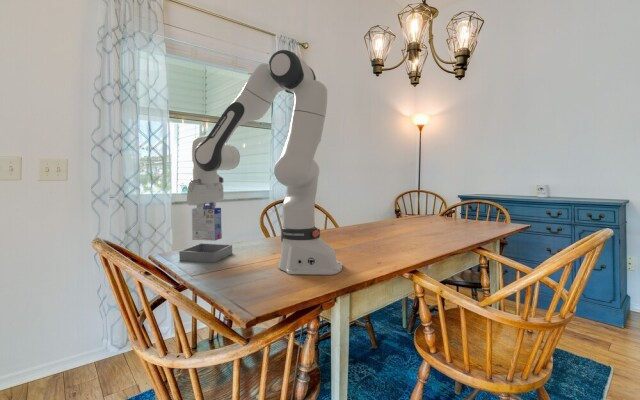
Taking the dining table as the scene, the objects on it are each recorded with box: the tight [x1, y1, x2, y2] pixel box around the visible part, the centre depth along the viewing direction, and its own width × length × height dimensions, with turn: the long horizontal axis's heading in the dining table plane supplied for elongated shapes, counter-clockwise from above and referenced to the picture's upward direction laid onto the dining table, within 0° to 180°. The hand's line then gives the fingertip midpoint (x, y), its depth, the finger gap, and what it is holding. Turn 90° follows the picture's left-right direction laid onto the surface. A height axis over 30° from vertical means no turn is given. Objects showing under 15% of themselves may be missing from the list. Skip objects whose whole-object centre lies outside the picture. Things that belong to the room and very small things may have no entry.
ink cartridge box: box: [191, 203, 223, 242], centre depth 129 cm, size 10×6×14 cm, turn 78°
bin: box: [178, 242, 233, 264], centre depth 130 cm, size 14×14×4 cm
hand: (207, 215), depth 129 cm, fingers closed on ink cartridge box, 5 cm apart
